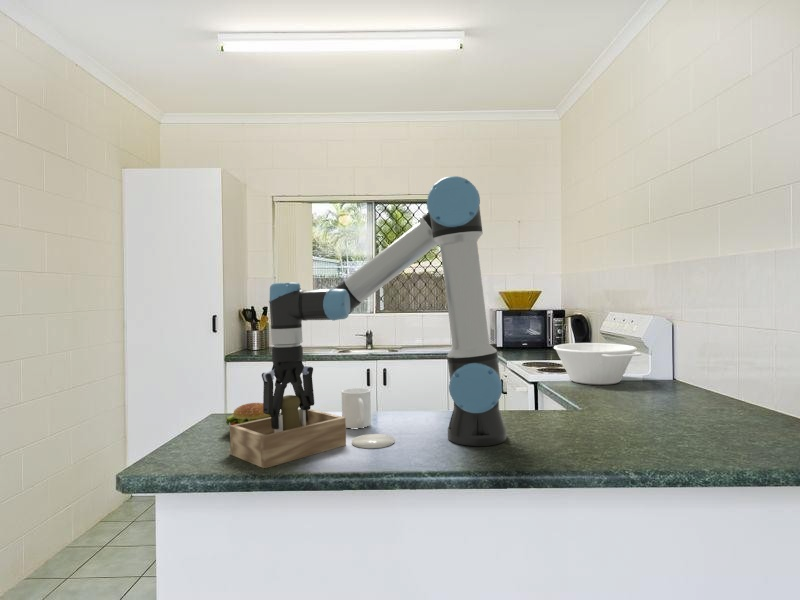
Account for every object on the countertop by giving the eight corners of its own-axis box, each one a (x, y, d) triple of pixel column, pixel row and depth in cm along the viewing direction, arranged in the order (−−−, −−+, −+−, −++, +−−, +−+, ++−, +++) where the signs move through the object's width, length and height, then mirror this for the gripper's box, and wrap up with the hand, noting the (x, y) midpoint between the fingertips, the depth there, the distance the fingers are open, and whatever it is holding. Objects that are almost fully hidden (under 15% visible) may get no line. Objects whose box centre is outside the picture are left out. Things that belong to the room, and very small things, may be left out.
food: (249, 423, 160) (249, 397, 159) (287, 428, 153) (287, 400, 153) (215, 435, 147) (214, 406, 147) (255, 440, 141) (254, 410, 141)
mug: (377, 431, 147) (376, 394, 147) (347, 434, 145) (346, 396, 145) (367, 421, 159) (366, 387, 159) (340, 424, 157) (339, 389, 156)
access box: (346, 445, 135) (345, 417, 135) (264, 468, 118) (263, 437, 118) (309, 434, 146) (309, 408, 146) (230, 454, 129) (229, 425, 129)
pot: (534, 376, 232) (533, 344, 232) (597, 372, 241) (597, 340, 241) (591, 393, 194) (591, 354, 194) (664, 387, 203) (663, 349, 202)
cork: (280, 437, 135) (278, 394, 134) (304, 436, 135) (302, 392, 135) (276, 444, 129) (274, 398, 128) (302, 442, 129) (300, 397, 129)
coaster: (403, 441, 137) (403, 439, 137) (371, 451, 129) (371, 448, 129) (374, 433, 145) (374, 431, 145) (342, 442, 137) (342, 440, 137)
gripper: (309, 341, 141) (313, 428, 141) (244, 348, 127) (248, 444, 128) (327, 342, 136) (330, 432, 136) (260, 350, 122) (265, 450, 123)
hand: (290, 438), depth 132 cm, fingers closed on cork, 6 cm apart
